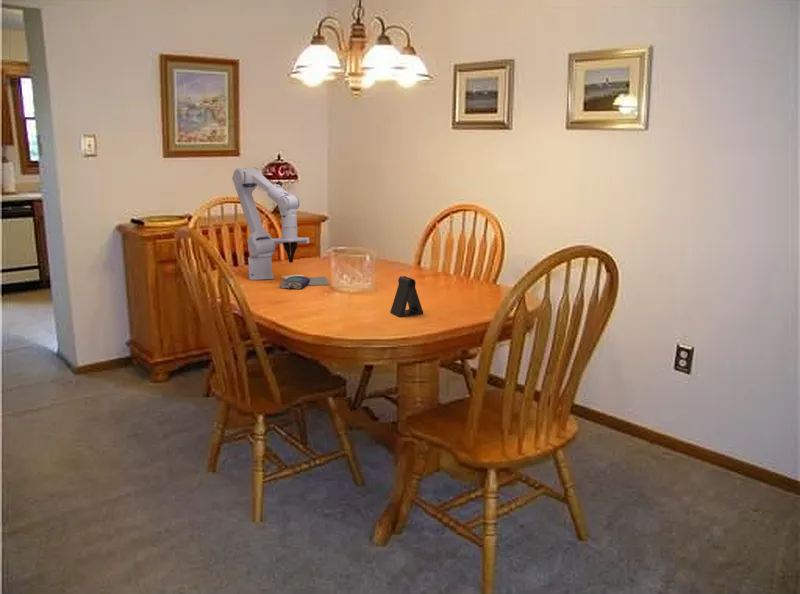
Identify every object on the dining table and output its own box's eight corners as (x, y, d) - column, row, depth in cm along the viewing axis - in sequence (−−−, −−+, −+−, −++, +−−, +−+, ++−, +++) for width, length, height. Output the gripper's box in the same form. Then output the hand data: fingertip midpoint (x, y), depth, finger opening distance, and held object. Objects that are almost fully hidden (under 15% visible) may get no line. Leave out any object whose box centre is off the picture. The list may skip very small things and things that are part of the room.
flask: (287, 282, 266) (277, 289, 256) (287, 275, 266) (276, 282, 256) (310, 283, 264) (300, 290, 254) (310, 276, 264) (300, 282, 254)
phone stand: (413, 309, 228) (414, 274, 225) (423, 313, 223) (423, 277, 220) (390, 313, 223) (390, 277, 221) (399, 317, 218) (399, 280, 216)
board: (308, 286, 262) (308, 285, 262) (305, 278, 275) (305, 277, 275) (329, 285, 264) (329, 284, 263) (325, 277, 277) (325, 276, 277)
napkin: (285, 280, 272) (285, 279, 272) (282, 277, 277) (282, 276, 277) (305, 278, 275) (305, 277, 275) (301, 275, 280) (301, 274, 280)
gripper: (270, 229, 256) (272, 264, 259) (309, 227, 259) (310, 263, 262) (269, 226, 262) (271, 261, 266) (307, 225, 265) (309, 259, 269)
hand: (290, 262), depth 264 cm, fingers closed
